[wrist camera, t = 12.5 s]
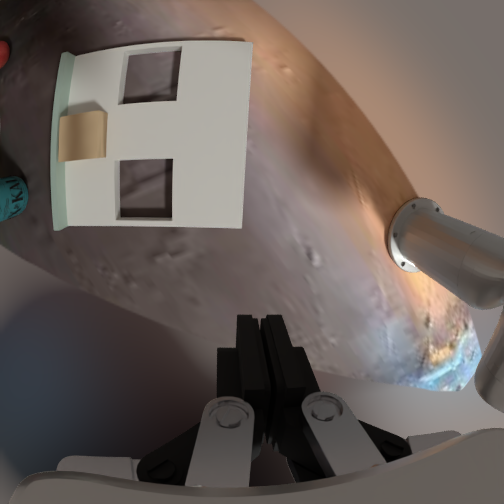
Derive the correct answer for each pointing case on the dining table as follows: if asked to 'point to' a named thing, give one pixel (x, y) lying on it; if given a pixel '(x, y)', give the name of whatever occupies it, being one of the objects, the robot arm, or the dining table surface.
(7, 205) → the beverage bottle
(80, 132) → the block
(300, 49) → the dining table surface
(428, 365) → the dining table surface
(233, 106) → the board
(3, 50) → the onion
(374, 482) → the robot arm
